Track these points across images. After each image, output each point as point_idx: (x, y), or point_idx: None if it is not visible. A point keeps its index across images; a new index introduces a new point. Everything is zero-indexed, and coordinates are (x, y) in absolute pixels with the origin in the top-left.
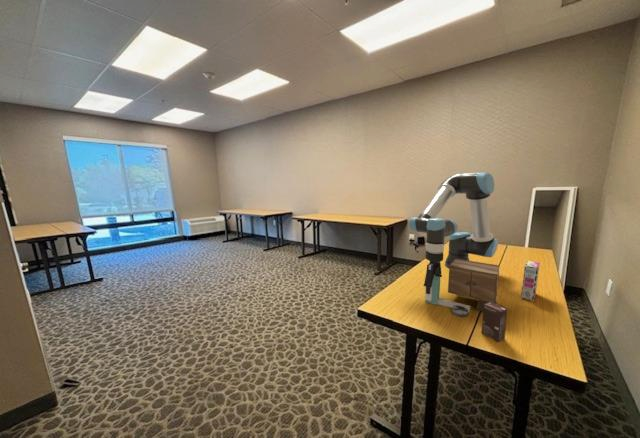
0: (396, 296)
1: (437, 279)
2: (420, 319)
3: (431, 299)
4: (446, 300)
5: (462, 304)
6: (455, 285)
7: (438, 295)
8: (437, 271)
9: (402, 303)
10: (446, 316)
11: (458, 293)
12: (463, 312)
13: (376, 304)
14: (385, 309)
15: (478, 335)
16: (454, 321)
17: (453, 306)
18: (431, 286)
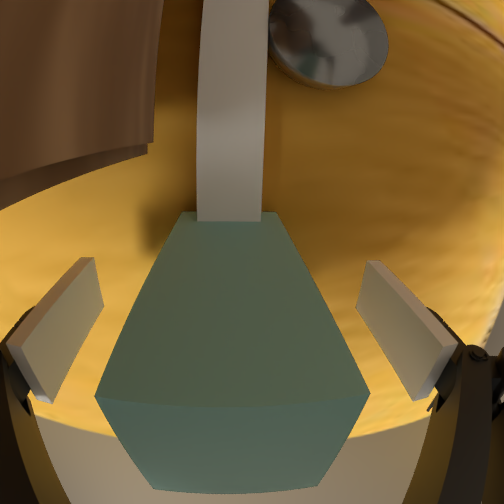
0: None
1: (320, 411)
2: (478, 250)
3: (376, 264)
4: (210, 147)
5: (214, 16)
6: (115, 29)
7: (214, 232)
8: (38, 486)
9: None
10: (413, 124)
11: (159, 25)
12: (375, 12)
13: (399, 415)
14: None
15: (475, 5)
16: (440, 81)
17: (316, 74)
18: (479, 350)
